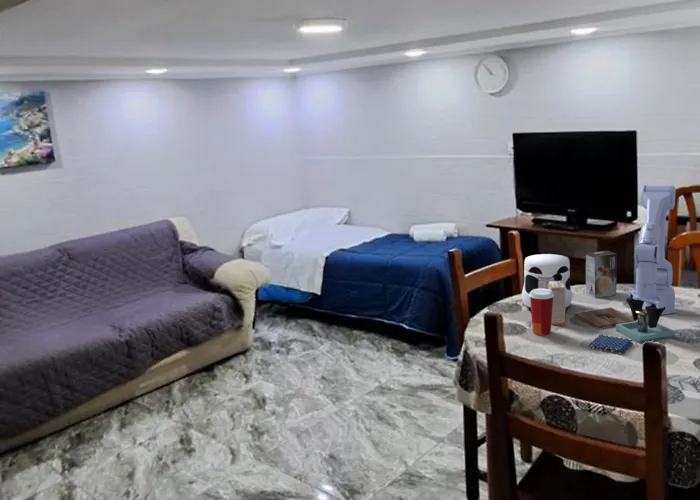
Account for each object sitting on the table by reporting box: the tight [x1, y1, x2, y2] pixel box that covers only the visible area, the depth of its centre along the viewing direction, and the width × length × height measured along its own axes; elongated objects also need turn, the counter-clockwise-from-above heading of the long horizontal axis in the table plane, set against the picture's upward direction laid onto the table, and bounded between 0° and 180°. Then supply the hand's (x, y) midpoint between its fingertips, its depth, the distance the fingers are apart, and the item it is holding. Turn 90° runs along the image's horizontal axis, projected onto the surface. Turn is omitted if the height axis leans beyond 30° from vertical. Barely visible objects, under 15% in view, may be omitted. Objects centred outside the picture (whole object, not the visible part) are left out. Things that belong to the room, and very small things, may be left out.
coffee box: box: [585, 250, 618, 299], centre depth 244 cm, size 9×6×16 cm
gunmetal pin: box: [635, 309, 648, 333], centre depth 205 cm, size 4×4×7 cm
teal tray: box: [615, 320, 675, 344], centre depth 205 cm, size 12×12×2 cm
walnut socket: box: [574, 307, 637, 330], centre depth 220 cm, size 14×14×1 cm
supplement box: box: [549, 281, 566, 325], centre depth 221 cm, size 8×5×13 cm, turn 168°
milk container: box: [521, 253, 573, 310], centre depth 234 cm, size 17×17×18 cm
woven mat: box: [587, 334, 634, 355], centre depth 198 cm, size 10×11×2 cm
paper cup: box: [529, 289, 554, 336], centre depth 211 cm, size 8×8×14 cm
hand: (644, 323), depth 204 cm, fingers open, 7 cm apart
